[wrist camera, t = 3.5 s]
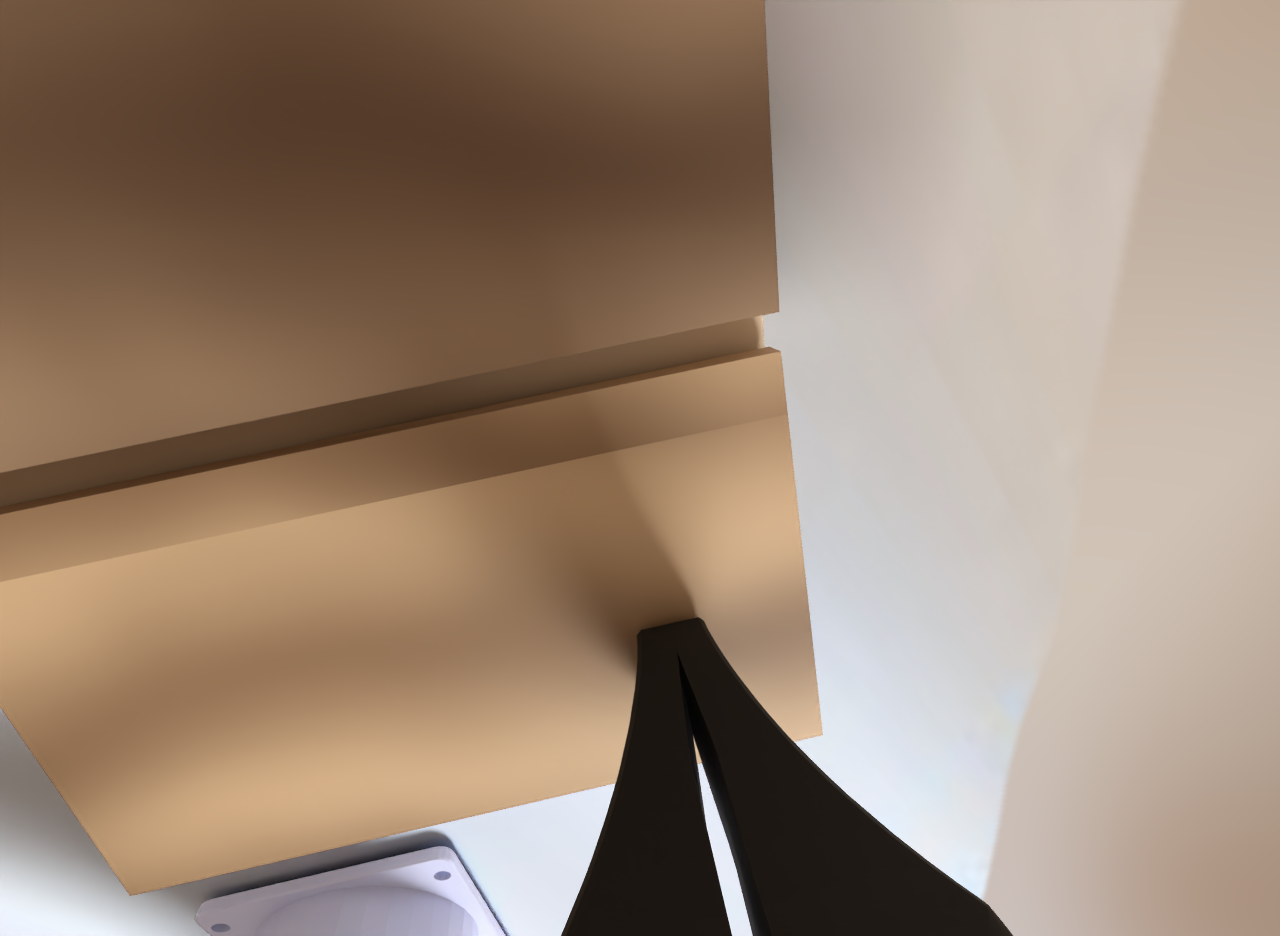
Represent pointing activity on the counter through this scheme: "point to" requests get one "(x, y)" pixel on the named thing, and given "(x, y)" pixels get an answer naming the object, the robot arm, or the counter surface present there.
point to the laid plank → (361, 216)
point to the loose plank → (398, 616)
